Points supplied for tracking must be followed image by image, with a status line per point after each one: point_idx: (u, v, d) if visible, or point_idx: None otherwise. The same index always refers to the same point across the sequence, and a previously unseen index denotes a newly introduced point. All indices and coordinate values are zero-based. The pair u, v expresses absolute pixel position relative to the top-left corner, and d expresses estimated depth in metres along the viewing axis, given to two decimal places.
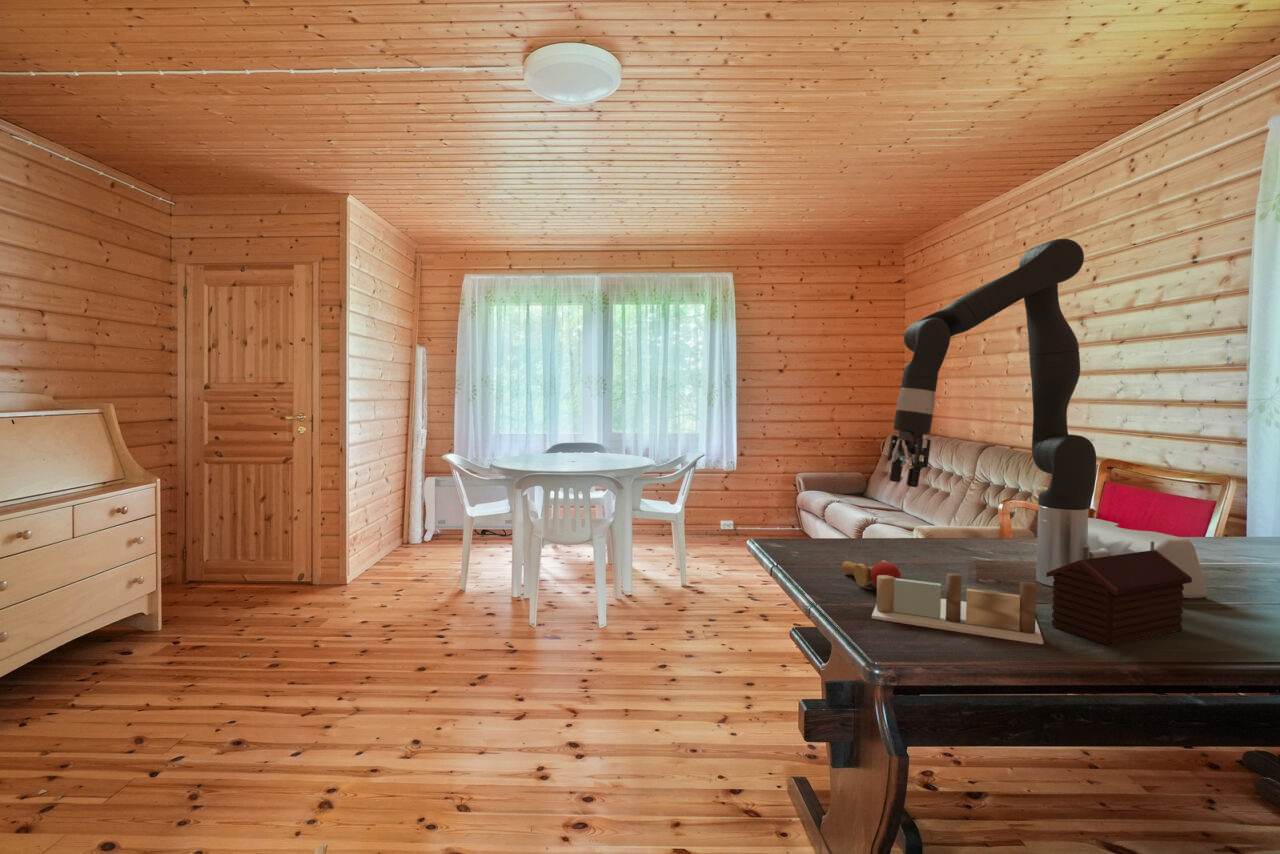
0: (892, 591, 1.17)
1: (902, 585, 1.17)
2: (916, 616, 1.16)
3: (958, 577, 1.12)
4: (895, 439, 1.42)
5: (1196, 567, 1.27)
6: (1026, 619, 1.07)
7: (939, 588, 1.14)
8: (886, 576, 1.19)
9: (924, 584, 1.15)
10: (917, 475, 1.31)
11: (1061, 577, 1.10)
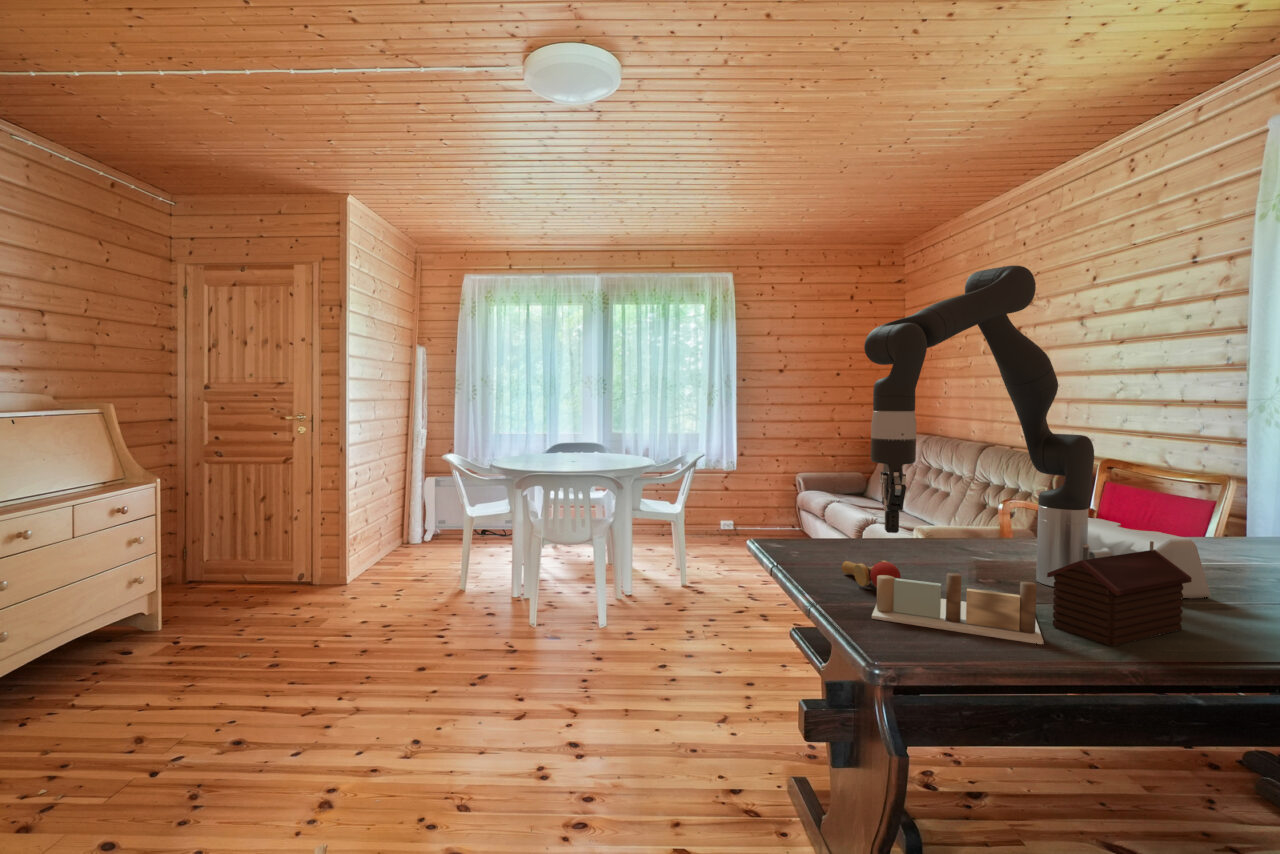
0: (892, 591, 1.17)
1: (902, 585, 1.17)
2: (916, 616, 1.16)
3: (958, 577, 1.12)
4: None
5: (1198, 567, 1.27)
6: (1026, 619, 1.07)
7: (939, 588, 1.14)
8: (886, 576, 1.19)
9: (924, 584, 1.15)
10: (894, 519, 1.11)
11: (1062, 577, 1.10)
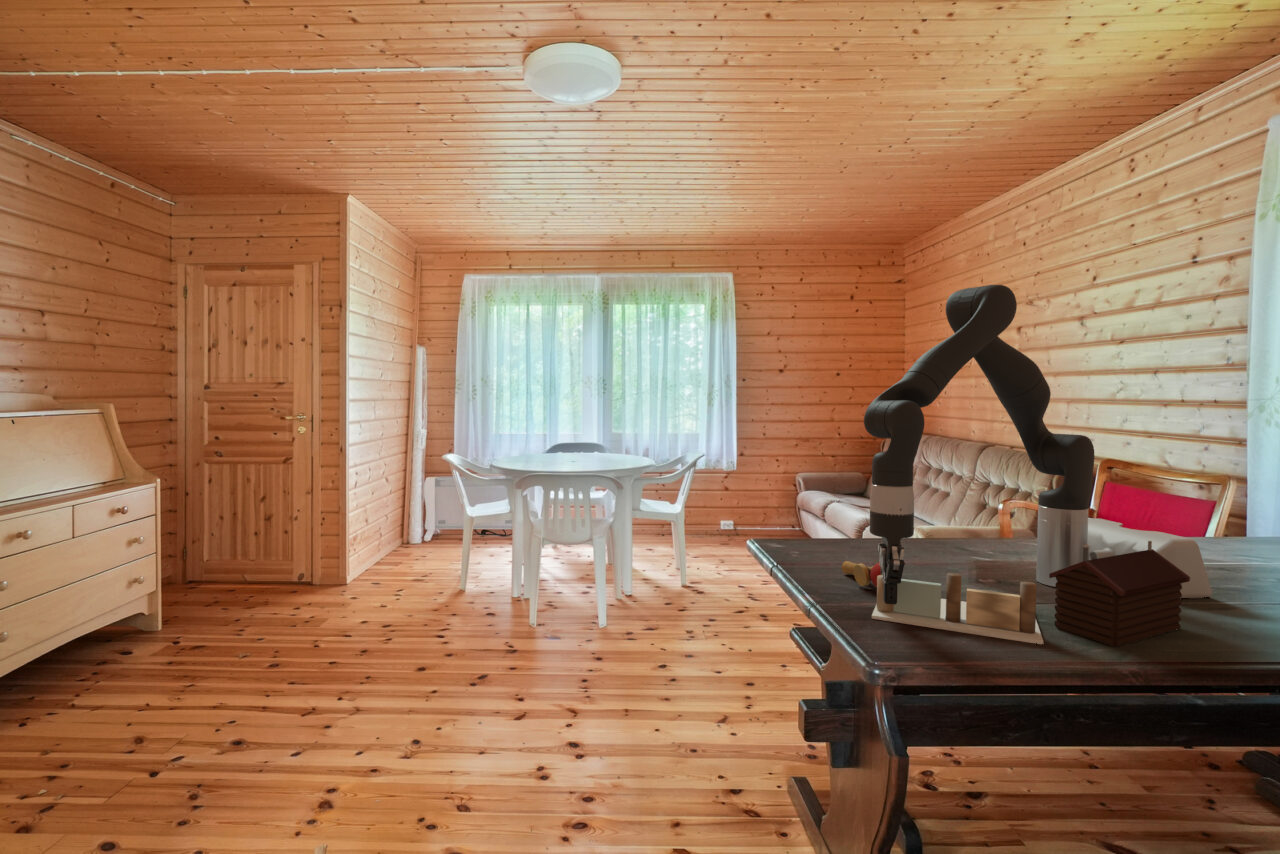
0: None
1: (902, 585, 1.17)
2: (916, 616, 1.16)
3: (958, 577, 1.12)
4: None
5: (1200, 567, 1.27)
6: (1026, 619, 1.07)
7: (939, 588, 1.14)
8: None
9: (924, 584, 1.15)
10: (893, 591, 1.13)
11: (1064, 578, 1.10)
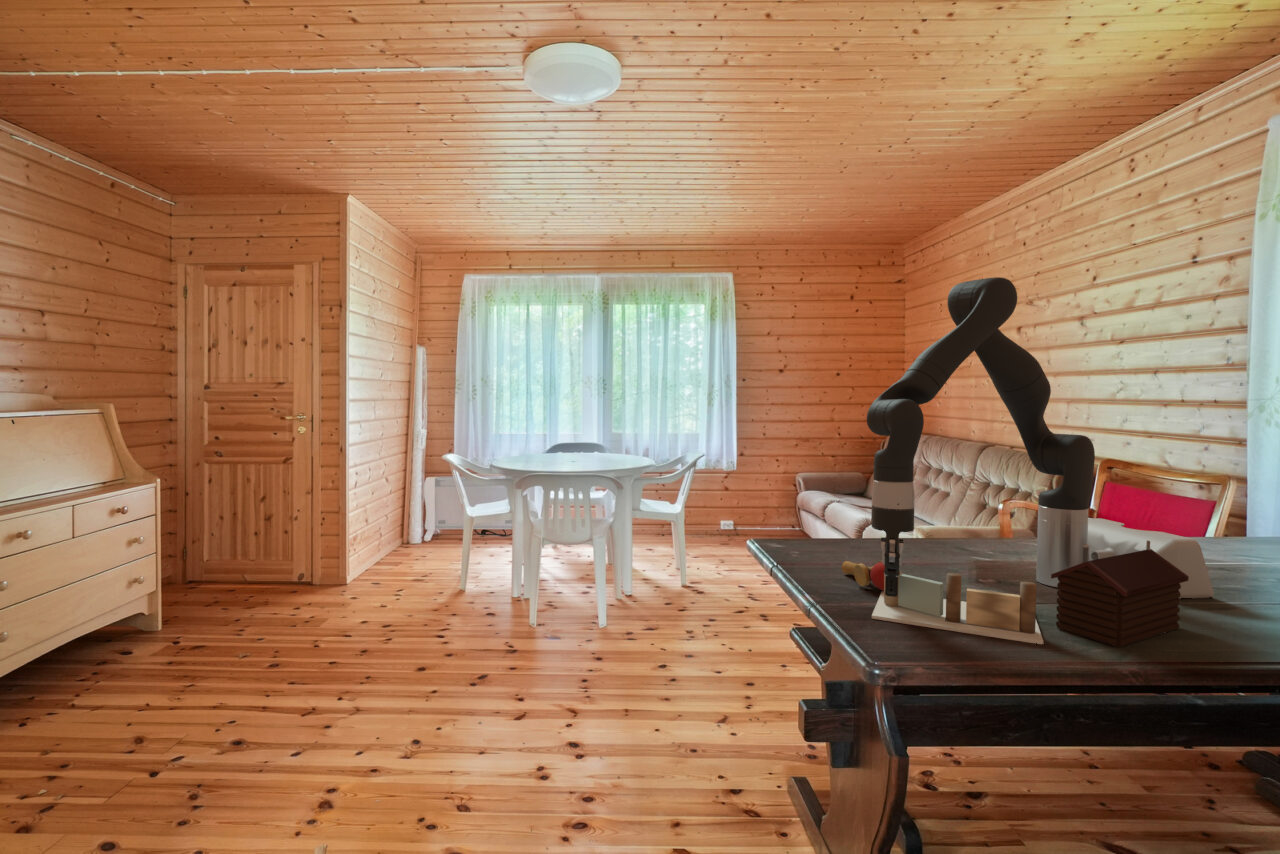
0: None
1: (906, 581, 1.19)
2: (916, 616, 1.16)
3: (958, 577, 1.12)
4: None
5: (1202, 567, 1.27)
6: (1026, 619, 1.07)
7: (939, 587, 1.15)
8: None
9: (925, 581, 1.16)
10: (893, 583, 1.17)
11: (1067, 579, 1.09)
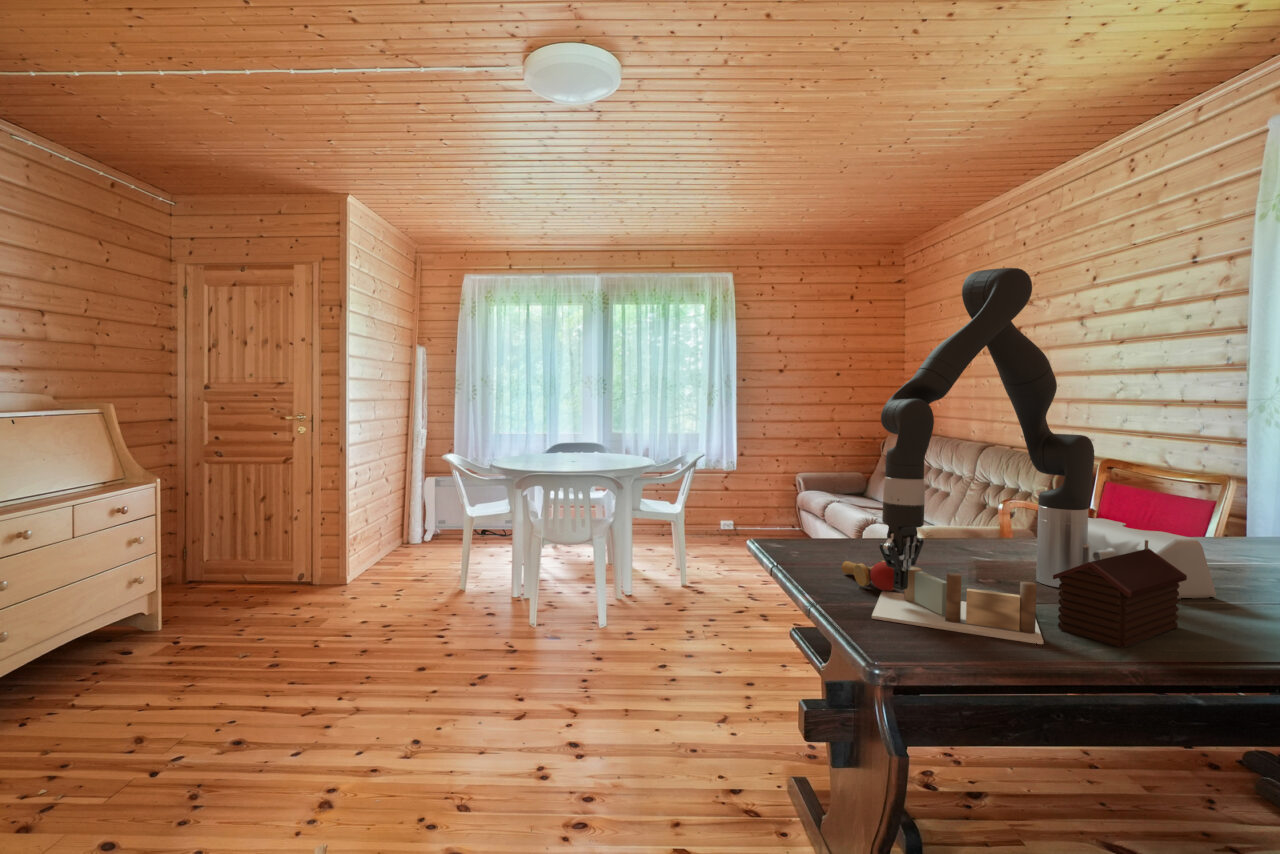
0: (912, 582, 1.23)
1: (919, 578, 1.21)
2: (916, 616, 1.16)
3: (958, 577, 1.12)
4: None
5: (1204, 567, 1.27)
6: (1026, 619, 1.07)
7: (941, 585, 1.15)
8: (916, 568, 1.25)
9: (932, 579, 1.18)
10: (898, 577, 1.21)
11: (1069, 579, 1.09)
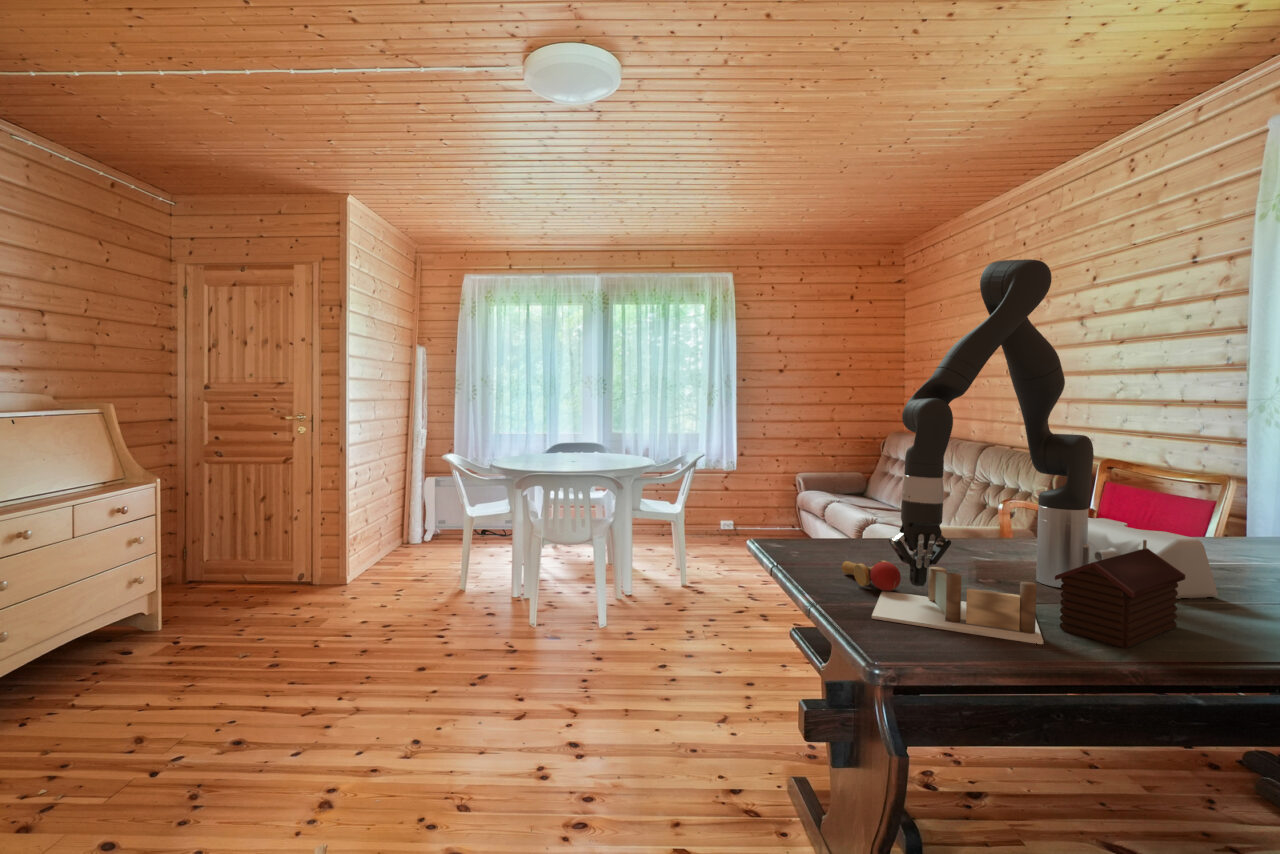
0: (933, 581, 1.24)
1: (937, 577, 1.22)
2: (916, 616, 1.16)
3: (958, 577, 1.12)
4: None
5: (1206, 567, 1.27)
6: (1026, 619, 1.07)
7: None
8: (941, 569, 1.24)
9: (942, 579, 1.18)
10: (913, 573, 1.24)
11: (1071, 580, 1.08)
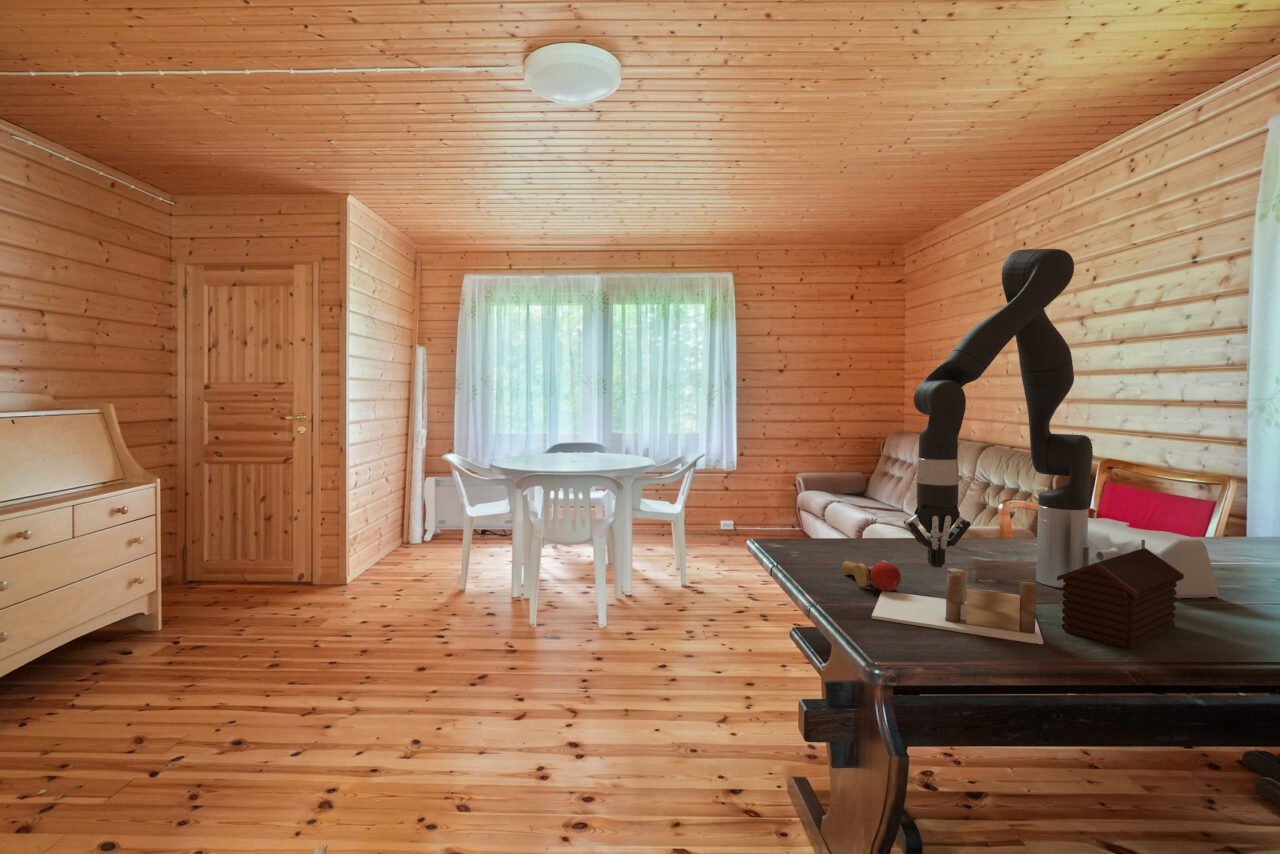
0: None
1: None
2: (916, 616, 1.16)
3: (958, 577, 1.12)
4: None
5: (1208, 567, 1.27)
6: (1026, 619, 1.07)
7: None
8: (960, 571, 1.23)
9: None
10: (930, 554, 1.25)
11: (1074, 581, 1.08)
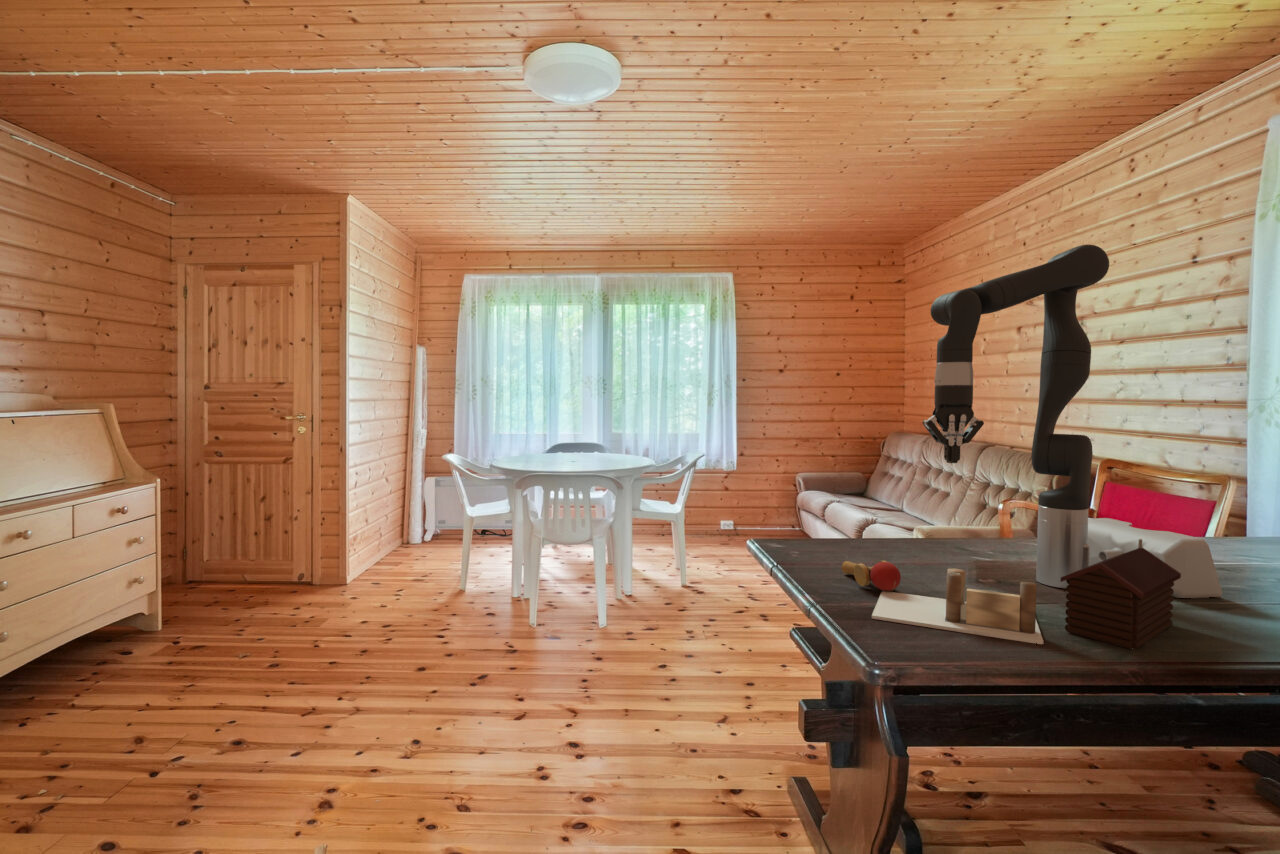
0: None
1: None
2: (916, 616, 1.16)
3: (958, 577, 1.12)
4: None
5: (1211, 567, 1.27)
6: (1026, 619, 1.07)
7: None
8: (960, 571, 1.23)
9: None
10: (946, 451, 1.36)
11: (1078, 582, 1.07)
